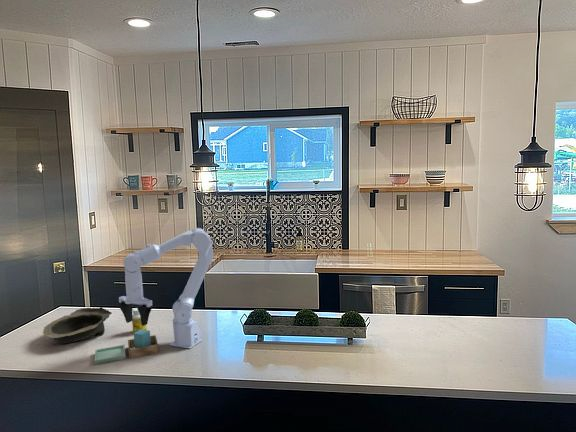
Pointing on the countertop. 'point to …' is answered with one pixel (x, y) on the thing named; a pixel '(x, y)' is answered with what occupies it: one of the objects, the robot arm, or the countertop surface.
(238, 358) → the countertop surface
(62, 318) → the stone bowl
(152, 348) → the sleeve
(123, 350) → the tray
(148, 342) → the block
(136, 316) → the supplement bottle
